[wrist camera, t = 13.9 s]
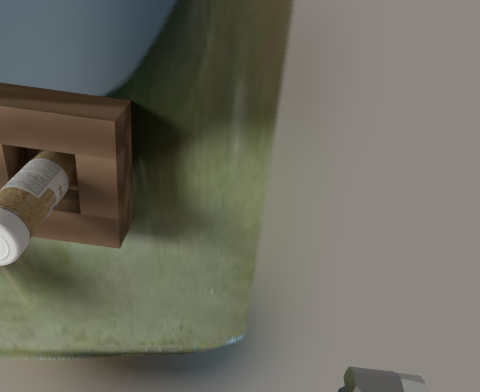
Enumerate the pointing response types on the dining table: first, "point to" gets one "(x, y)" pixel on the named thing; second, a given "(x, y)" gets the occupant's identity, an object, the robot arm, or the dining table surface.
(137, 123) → the dining table surface
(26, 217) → the sprinkles bottle
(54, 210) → the walnut socket block
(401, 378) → the robot arm
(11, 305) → the dining table surface
